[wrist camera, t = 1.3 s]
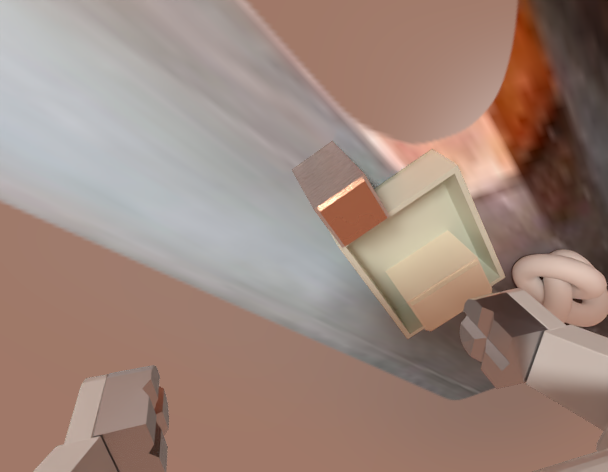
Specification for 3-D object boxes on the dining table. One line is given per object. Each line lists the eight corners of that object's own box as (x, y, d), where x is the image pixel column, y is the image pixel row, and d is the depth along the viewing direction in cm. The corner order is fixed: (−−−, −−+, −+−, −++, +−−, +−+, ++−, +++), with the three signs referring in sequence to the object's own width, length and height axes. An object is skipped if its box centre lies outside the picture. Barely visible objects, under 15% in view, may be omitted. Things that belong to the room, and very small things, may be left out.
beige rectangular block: (447, 229, 48) (480, 260, 43) (463, 260, 52) (495, 292, 46) (385, 271, 49) (409, 305, 44) (404, 299, 53) (429, 334, 47)
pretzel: (486, 264, 54) (533, 307, 46) (565, 215, 53) (627, 251, 45) (505, 312, 60) (550, 357, 52) (577, 268, 59) (633, 308, 51)
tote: (432, 148, 43) (457, 165, 39) (480, 254, 53) (505, 277, 48) (324, 222, 44) (338, 246, 40) (391, 312, 54) (407, 339, 50)
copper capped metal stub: (332, 140, 40) (366, 175, 32) (355, 177, 43) (391, 218, 35) (291, 169, 40) (314, 211, 33) (316, 204, 43) (344, 250, 35)
